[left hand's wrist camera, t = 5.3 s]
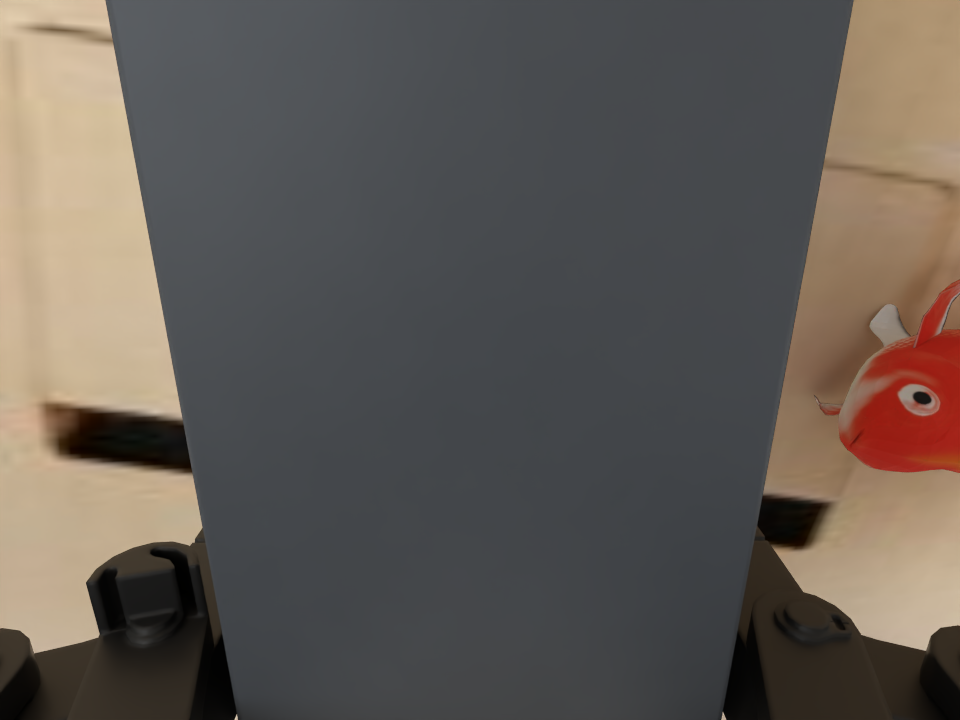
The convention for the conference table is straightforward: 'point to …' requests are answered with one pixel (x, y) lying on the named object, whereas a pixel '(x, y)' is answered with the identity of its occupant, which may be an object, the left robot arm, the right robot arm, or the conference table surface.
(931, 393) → the fish
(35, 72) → the conference table surface
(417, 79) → the bar
